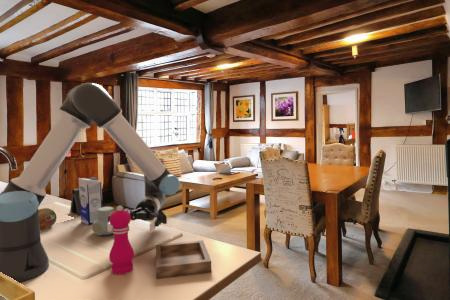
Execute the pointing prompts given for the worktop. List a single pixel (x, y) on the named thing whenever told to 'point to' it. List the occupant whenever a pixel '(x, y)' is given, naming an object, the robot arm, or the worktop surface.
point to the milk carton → (90, 199)
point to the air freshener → (102, 221)
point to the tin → (46, 218)
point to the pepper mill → (121, 242)
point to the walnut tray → (182, 259)
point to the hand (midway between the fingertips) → (129, 227)
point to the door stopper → (75, 202)
